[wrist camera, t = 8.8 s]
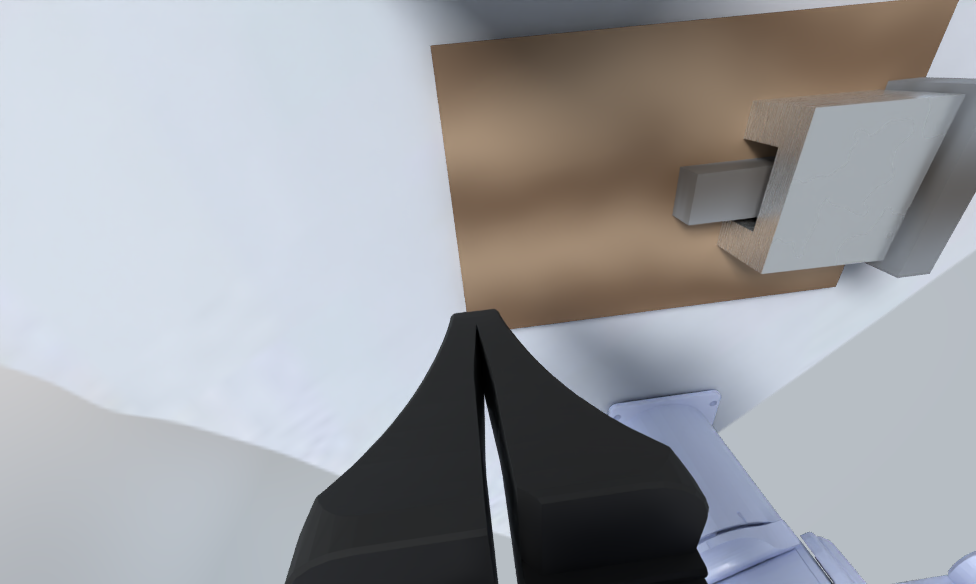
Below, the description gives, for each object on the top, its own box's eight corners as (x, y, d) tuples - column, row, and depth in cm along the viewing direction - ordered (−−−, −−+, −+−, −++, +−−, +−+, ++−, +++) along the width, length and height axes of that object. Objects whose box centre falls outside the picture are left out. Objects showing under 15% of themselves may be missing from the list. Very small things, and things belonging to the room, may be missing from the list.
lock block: (822, 233, 21) (882, 260, 18) (716, 244, 21) (761, 273, 18) (878, 89, 18) (965, 94, 15) (753, 100, 17) (815, 107, 14)
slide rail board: (824, 280, 24) (904, 325, 20) (468, 326, 23) (474, 383, 19) (939, -3, 17) (1102, -26, 13) (431, 46, 16) (427, 39, 12)
